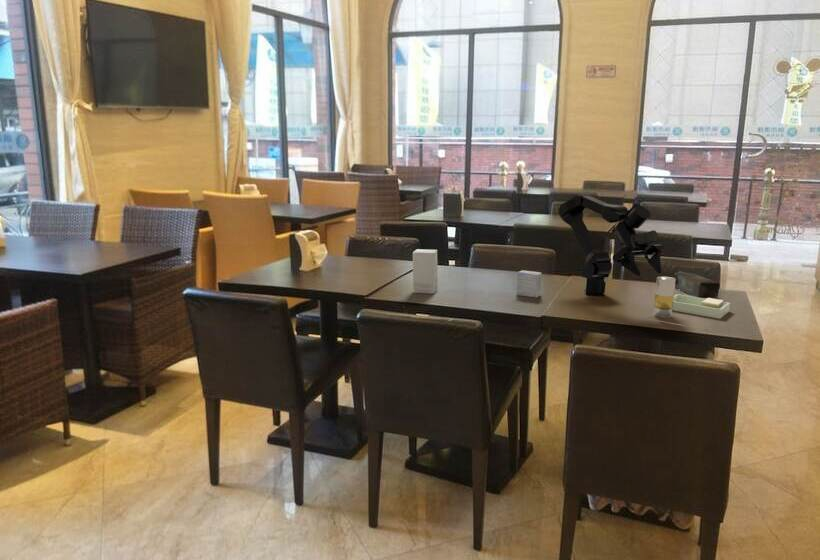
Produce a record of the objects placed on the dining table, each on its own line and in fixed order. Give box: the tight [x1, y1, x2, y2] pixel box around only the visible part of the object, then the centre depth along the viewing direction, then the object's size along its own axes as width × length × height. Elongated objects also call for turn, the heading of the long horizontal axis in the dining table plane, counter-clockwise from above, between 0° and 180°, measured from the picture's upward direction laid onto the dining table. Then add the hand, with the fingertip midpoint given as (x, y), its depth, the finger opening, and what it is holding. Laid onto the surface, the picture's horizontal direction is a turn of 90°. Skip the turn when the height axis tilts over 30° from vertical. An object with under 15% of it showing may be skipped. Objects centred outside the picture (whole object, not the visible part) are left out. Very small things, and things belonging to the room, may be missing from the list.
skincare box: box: [412, 248, 439, 295], centre depth 237 cm, size 8×7×16 cm
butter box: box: [701, 298, 725, 309], centre depth 213 cm, size 5×7×4 cm
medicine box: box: [516, 270, 543, 299], centre depth 234 cm, size 8×4×9 cm, turn 59°
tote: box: [672, 293, 731, 320], centre depth 216 cm, size 17×11×4 cm, turn 51°
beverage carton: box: [673, 271, 721, 299], centre depth 242 cm, size 8×19×7 cm, turn 6°
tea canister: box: [653, 276, 676, 319], centre depth 209 cm, size 6×6×13 cm
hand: (650, 274), depth 213 cm, fingers open, 9 cm apart
